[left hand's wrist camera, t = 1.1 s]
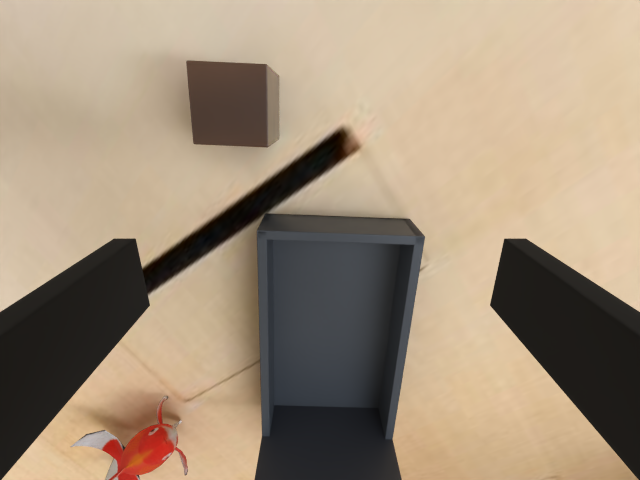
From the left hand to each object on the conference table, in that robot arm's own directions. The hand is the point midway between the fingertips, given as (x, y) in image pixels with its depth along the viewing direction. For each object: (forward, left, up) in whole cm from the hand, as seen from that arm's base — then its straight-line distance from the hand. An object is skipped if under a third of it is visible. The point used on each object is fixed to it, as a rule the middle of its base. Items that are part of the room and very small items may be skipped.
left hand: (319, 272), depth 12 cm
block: (-6, -6, -19) cm, 21 cm away
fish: (+31, -19, -19) cm, 42 cm away
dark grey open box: (+15, +2, -19) cm, 25 cm away
